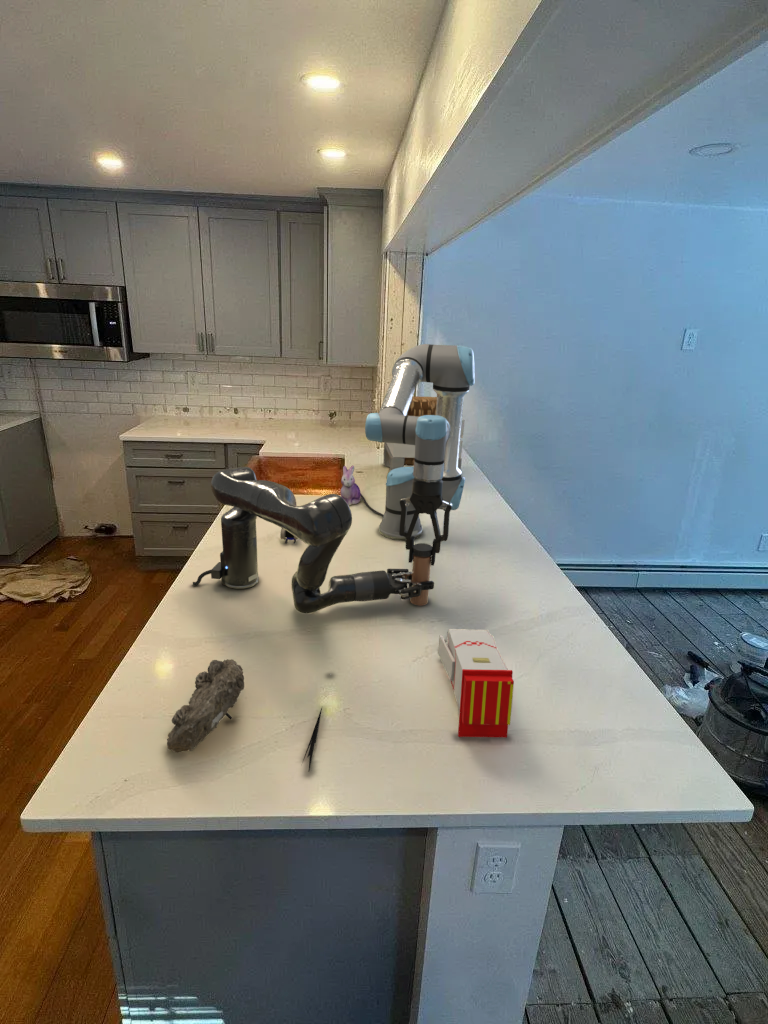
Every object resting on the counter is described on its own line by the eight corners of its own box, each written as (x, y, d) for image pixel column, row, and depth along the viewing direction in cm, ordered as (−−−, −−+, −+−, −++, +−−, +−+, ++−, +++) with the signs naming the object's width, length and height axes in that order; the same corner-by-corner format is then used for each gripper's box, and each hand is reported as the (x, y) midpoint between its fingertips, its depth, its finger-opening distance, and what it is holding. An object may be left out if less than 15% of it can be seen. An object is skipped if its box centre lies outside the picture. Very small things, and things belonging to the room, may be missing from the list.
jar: (418, 595, 158) (422, 544, 153) (431, 602, 154) (435, 550, 149) (406, 600, 155) (409, 548, 149) (419, 607, 151) (422, 555, 146)
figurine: (344, 507, 223) (345, 470, 218) (334, 499, 232) (334, 463, 227) (366, 504, 228) (367, 468, 223) (355, 496, 236) (356, 461, 231)
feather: (331, 679, 122) (336, 673, 122) (307, 777, 96) (313, 769, 95) (324, 675, 122) (329, 669, 121) (298, 772, 95) (304, 764, 95)
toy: (488, 613, 130) (523, 677, 101) (484, 667, 133) (517, 744, 104) (435, 612, 130) (455, 676, 101) (432, 666, 133) (451, 743, 103)
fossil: (192, 660, 117) (244, 628, 112) (224, 691, 120) (276, 661, 115) (142, 746, 98) (202, 712, 93) (182, 779, 101) (242, 748, 96)
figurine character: (300, 550, 186) (305, 528, 199) (299, 529, 183) (304, 509, 196) (279, 549, 186) (286, 528, 199) (278, 529, 182) (285, 508, 196)
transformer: (382, 463, 289) (386, 382, 275) (445, 464, 293) (451, 384, 279) (390, 482, 257) (394, 392, 243) (460, 483, 261) (468, 394, 247)
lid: (412, 556, 147) (412, 550, 146) (412, 548, 152) (412, 542, 152) (433, 557, 147) (433, 551, 146) (432, 549, 152) (432, 543, 152)
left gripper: (377, 585, 141) (440, 579, 145) (362, 561, 154) (421, 556, 158) (376, 612, 143) (438, 605, 148) (361, 586, 156) (419, 580, 161)
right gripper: (465, 477, 144) (457, 560, 152) (395, 470, 148) (390, 552, 156) (463, 485, 138) (454, 572, 145) (389, 478, 141) (385, 563, 149)
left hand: (429, 580), depth 153 cm, fingers closed on jar, 5 cm apart
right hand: (421, 561), depth 150 cm, fingers closed on lid, 5 cm apart
